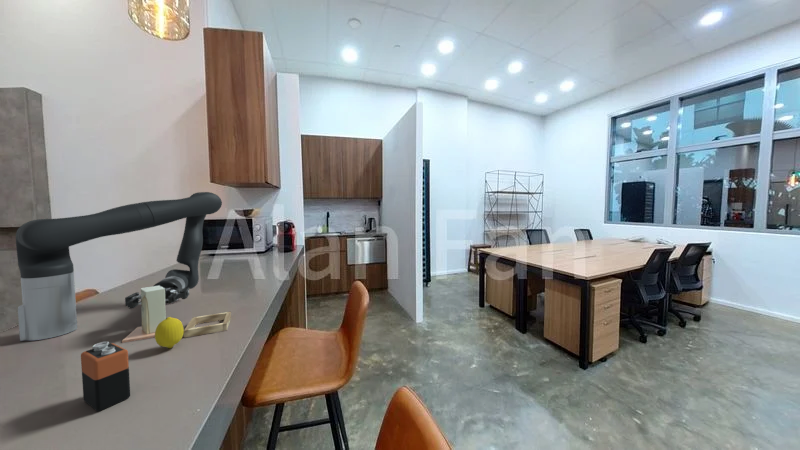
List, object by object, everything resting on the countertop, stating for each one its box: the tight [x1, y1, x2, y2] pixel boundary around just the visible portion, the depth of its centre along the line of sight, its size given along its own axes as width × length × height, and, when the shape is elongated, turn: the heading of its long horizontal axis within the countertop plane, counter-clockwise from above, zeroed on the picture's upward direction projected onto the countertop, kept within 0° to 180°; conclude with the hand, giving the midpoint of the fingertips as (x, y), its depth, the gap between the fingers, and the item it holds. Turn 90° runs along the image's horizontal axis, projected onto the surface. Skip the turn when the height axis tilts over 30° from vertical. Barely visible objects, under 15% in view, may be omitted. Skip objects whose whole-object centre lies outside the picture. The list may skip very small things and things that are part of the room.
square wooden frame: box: [183, 311, 232, 339], centre depth 80 cm, size 10×11×2 cm
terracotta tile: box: [121, 325, 155, 344], centre depth 78 cm, size 10×10×1 cm
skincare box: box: [140, 285, 167, 334], centre depth 78 cm, size 6×4×12 cm
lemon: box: [154, 316, 185, 349], centre depth 68 cm, size 6×6×8 cm
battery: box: [80, 341, 131, 412], centre depth 49 cm, size 4×7×10 cm, turn 63°
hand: (150, 302), depth 77 cm, fingers open, 8 cm apart
